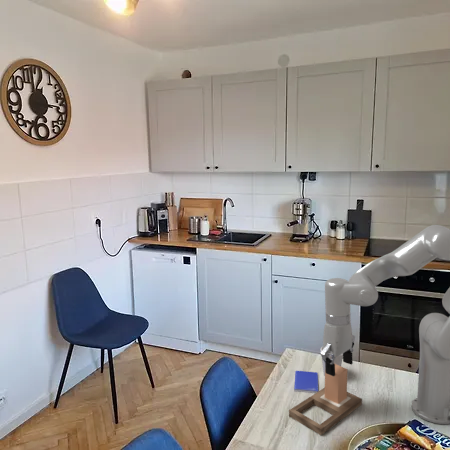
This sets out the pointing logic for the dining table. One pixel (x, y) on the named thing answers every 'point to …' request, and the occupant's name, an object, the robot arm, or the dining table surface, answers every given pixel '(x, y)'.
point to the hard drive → (306, 382)
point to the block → (336, 385)
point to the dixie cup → (337, 360)
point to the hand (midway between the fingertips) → (339, 368)
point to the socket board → (329, 406)
